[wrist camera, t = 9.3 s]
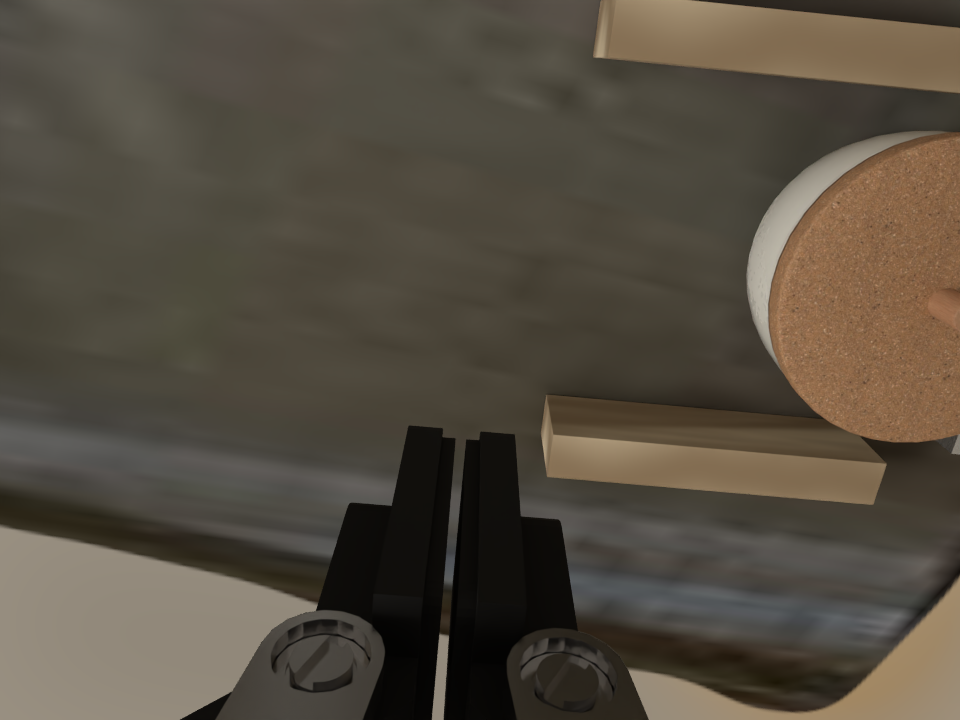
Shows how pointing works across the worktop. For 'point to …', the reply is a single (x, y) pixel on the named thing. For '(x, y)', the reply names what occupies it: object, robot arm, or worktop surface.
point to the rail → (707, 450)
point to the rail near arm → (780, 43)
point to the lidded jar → (868, 286)
